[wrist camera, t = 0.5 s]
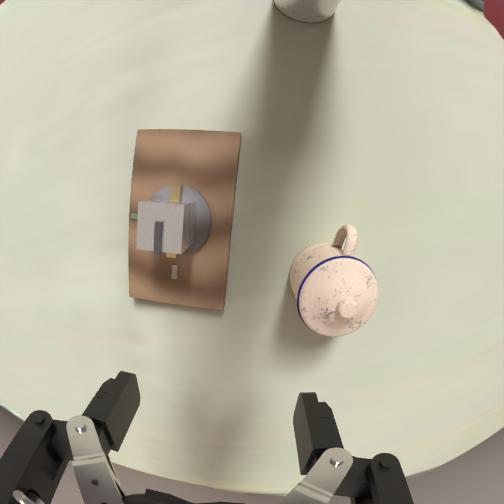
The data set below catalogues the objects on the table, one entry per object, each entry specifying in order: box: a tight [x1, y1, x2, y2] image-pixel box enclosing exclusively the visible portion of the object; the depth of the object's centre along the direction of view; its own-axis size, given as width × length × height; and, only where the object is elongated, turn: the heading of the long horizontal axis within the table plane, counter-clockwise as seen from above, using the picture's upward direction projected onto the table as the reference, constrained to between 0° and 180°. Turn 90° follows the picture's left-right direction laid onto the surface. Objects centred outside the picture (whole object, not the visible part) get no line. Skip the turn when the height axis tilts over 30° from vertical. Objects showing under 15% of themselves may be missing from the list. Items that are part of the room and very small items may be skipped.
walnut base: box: [129, 129, 241, 310], centre depth 33 cm, size 22×13×3 cm, turn 174°
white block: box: [137, 185, 197, 258], centre depth 28 cm, size 8×5×6 cm, turn 174°
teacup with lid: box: [290, 225, 378, 337], centre depth 30 cm, size 12×9×12 cm
